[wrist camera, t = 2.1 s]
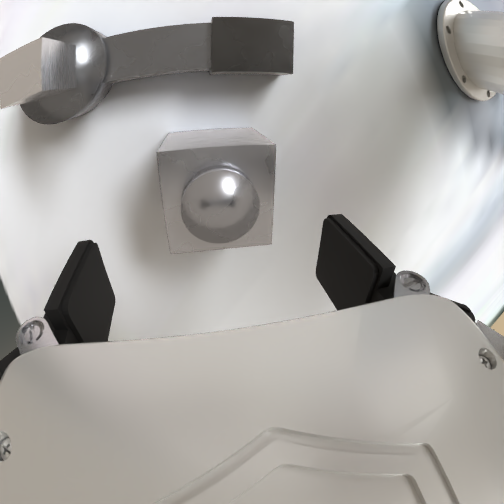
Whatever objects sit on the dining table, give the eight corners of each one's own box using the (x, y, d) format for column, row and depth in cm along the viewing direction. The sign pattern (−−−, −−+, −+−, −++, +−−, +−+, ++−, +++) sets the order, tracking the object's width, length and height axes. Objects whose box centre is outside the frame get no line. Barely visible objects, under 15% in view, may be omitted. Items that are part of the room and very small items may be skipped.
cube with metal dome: (252, 127, 19) (281, 148, 13) (251, 201, 22) (275, 253, 16) (168, 132, 18) (153, 157, 12) (175, 208, 21) (169, 263, 15)
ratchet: (280, 11, 14) (324, -20, 8) (279, 95, 18) (323, 101, 11) (36, 47, 11) (-22, 43, 5) (40, 127, 15) (-17, 153, 8)
